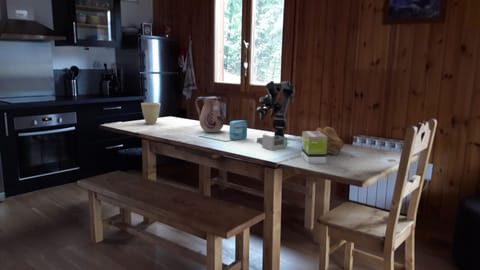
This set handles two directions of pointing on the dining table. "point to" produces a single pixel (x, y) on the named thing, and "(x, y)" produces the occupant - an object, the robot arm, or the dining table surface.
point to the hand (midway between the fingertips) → (265, 119)
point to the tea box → (314, 146)
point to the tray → (260, 140)
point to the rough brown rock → (332, 140)
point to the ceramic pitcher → (210, 114)
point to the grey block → (271, 143)
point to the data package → (238, 130)
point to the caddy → (280, 142)
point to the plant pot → (150, 112)
